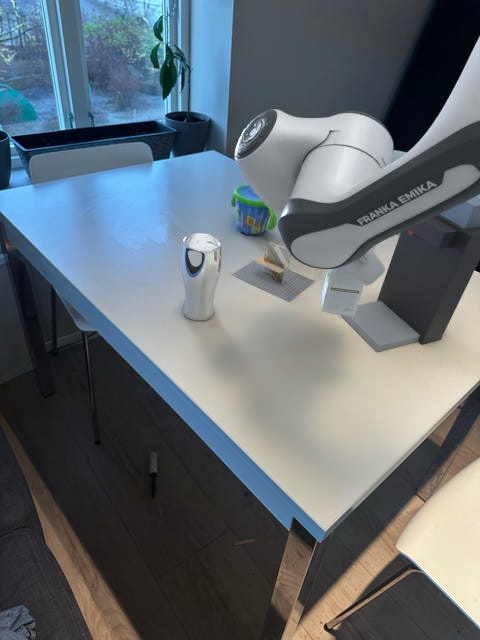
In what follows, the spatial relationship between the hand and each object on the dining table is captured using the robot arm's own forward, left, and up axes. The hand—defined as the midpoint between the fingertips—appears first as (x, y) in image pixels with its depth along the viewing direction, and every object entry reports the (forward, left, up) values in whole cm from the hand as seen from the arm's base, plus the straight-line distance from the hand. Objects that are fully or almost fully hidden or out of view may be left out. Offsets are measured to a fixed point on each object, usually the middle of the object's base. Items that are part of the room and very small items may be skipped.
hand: (351, 263), depth 74 cm
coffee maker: (-7, -12, -16) cm, 22 cm away
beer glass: (+23, +10, -16) cm, 30 cm away
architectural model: (+19, -11, -16) cm, 28 cm away
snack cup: (+36, -27, -16) cm, 48 cm away
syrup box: (0, +1, -9) cm, 9 cm away
